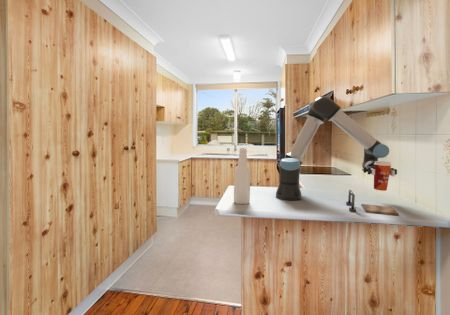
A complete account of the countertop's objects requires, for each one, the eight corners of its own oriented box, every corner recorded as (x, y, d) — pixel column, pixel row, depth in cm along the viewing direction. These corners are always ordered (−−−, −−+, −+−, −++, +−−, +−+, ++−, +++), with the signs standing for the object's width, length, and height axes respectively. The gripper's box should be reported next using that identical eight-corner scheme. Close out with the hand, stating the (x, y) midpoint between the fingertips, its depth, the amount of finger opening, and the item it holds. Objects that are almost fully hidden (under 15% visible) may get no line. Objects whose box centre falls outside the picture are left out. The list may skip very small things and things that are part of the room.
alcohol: (249, 200, 143) (251, 147, 141) (249, 204, 134) (251, 148, 132) (234, 200, 144) (235, 147, 141) (233, 204, 135) (234, 148, 133)
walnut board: (365, 212, 125) (365, 210, 125) (361, 205, 138) (361, 203, 138) (398, 215, 121) (398, 213, 121) (390, 208, 133) (391, 206, 133)
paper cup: (381, 191, 123) (384, 163, 121) (367, 188, 130) (370, 161, 129) (392, 190, 126) (395, 162, 124) (378, 187, 133) (381, 160, 131)
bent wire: (349, 211, 126) (350, 194, 125) (345, 203, 141) (346, 188, 140) (356, 212, 125) (357, 195, 124) (351, 204, 140) (352, 189, 139)
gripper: (394, 175, 141) (408, 182, 120) (353, 173, 148) (359, 179, 127) (395, 162, 141) (409, 166, 119) (354, 160, 148) (360, 164, 126)
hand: (383, 173), depth 123 cm, fingers closed on paper cup, 8 cm apart
